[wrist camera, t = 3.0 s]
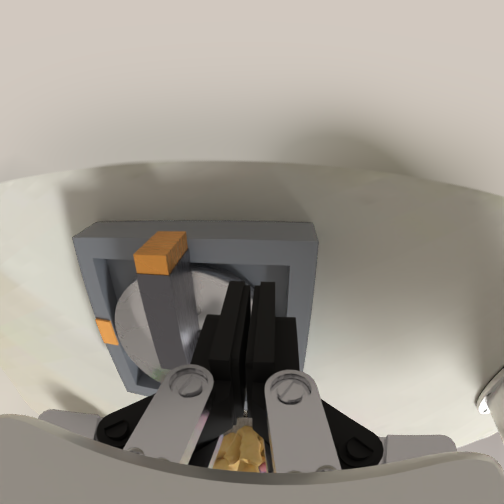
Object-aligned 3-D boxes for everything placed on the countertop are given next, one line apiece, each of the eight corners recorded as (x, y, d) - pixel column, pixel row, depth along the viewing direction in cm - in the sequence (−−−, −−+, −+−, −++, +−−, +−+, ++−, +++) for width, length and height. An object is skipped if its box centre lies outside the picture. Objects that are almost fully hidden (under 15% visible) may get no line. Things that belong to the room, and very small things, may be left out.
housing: (312, 222, 18) (319, 243, 15) (295, 385, 25) (295, 414, 22) (96, 221, 20) (70, 238, 17) (138, 369, 26) (126, 393, 23)
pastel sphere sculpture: (171, 450, 36) (156, 496, 27) (240, 386, 26) (226, 467, 18) (298, 485, 39) (297, 525, 30) (398, 434, 29) (409, 488, 21)
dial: (274, 387, 22) (271, 435, 18) (144, 373, 23) (125, 412, 19) (282, 222, 16) (282, 259, 12) (101, 222, 17) (58, 252, 13)
